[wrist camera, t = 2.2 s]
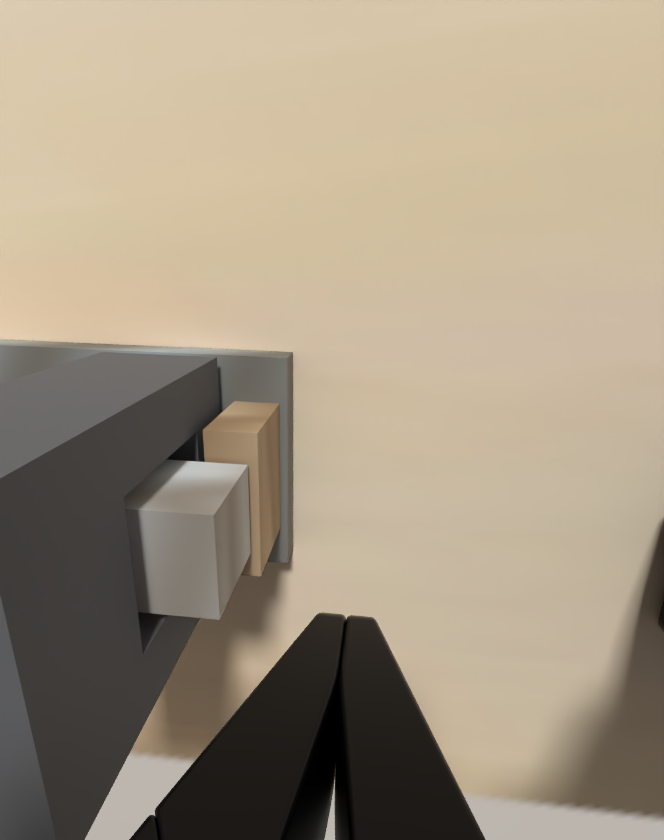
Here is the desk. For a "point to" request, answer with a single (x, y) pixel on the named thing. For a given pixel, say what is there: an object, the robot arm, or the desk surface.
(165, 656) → the collar
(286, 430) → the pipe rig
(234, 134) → the desk surface
